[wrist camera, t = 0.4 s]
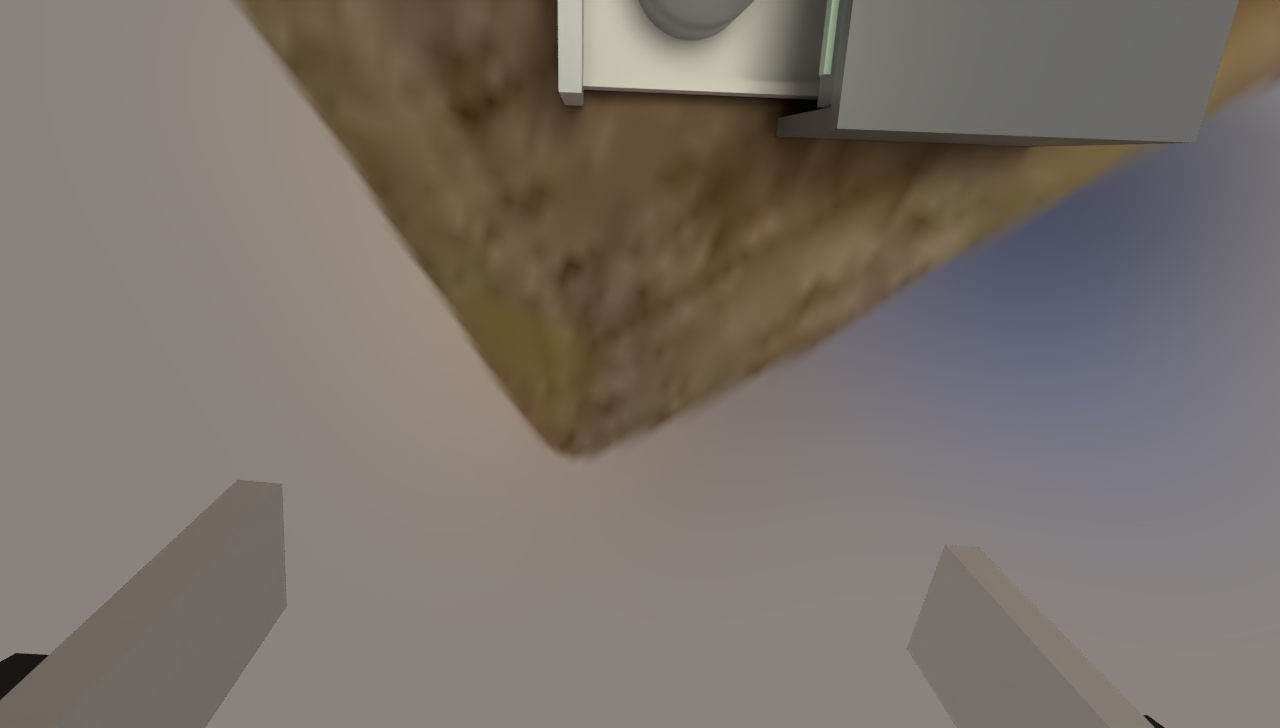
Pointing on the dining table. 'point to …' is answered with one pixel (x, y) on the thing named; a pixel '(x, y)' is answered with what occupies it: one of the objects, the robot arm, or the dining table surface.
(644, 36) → the grey drawer
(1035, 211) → the dining table surface
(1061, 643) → the robot arm
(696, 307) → the dining table surface
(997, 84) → the grey drawer cabinet
